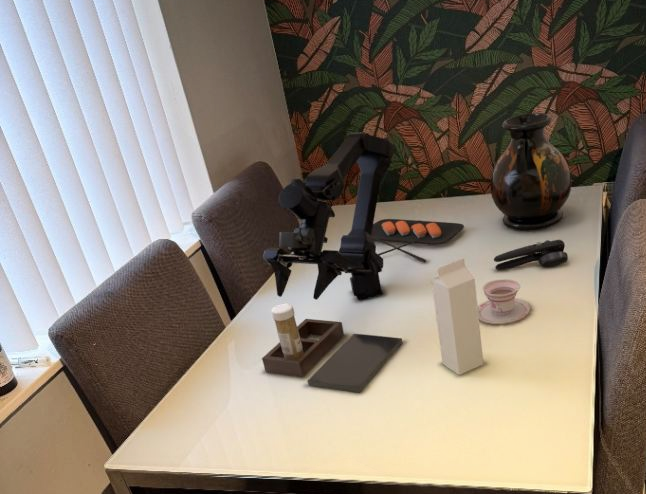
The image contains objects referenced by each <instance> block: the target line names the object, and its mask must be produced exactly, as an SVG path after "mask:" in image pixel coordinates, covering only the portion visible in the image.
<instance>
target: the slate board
mask: <svg viewBox="0 0 646 494" xmlns="http://www.w3.org/2000/svg"><path fill="white" fill-rule="evenodd" d="M403 343H404V342H403V338H402V337H393V336H384V335H383V336H382V335H372V334H362V333H352V335H351V336H350V337H349V338H348V339H347V340H346V341H345V342H344V343H343V344H342V345H341V346H340V347H339V348H338V349H337V350H336V351H335V352H334V353H333V354H332V355H331V356H330V357H329V358H328V359H327V360H326V361H325V362H324V363H323V364H322V365H321V367H319V368H318V369H317V370H316V372H315V373H313V374H312V376H310V378H308V380H307V384H308V386H310V387H316V388H323V389H324V388H325V389H331V390H340V391H346V392H353V393H361V392H362V391H363V389H364V388H365V387H366V386H367V384H369V382H370V381H371V380H372V379H373V378H374V377H375V376H376V374H377V373H378V372H379V371H380V370H381V369H382V368H383V366H385V364H386V363H387V362H388V361H389V360H390V358H392V356H393V355H394V354H395V352H396V351H397V350H398V349H399V348H400V347H401V346H402V345H403Z"/></svg>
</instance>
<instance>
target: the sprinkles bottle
mask: <svg viewBox="0 0 646 494" xmlns="http://www.w3.org/2000/svg"><path fill="white" fill-rule="evenodd" d="M271 315H272V319H273V321H274V324H275V327H276V333H277V336H278V340H279V342H280V344H281V347H282V351H283V353H284V357H285V358H288V359H296V360H298V359H299V358H300V357H301V356H302V355H303V354H304V352H303V348H302V343H301V340H300V336H299V332H298V328H297V326H298V325H297V321H296V318H295V310H294V306H293V304H291V303H280V304H278V305H275V306H274V307H272V309H271Z"/></svg>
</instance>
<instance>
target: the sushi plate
mask: <svg viewBox="0 0 646 494" xmlns="http://www.w3.org/2000/svg"><path fill="white" fill-rule="evenodd" d="M464 229H465V225H464V224H463V223H458V222H447V221H430V220H415V219H399V218H384V219H380V220H378V221H376V222H373V228H372V238H373V241H378V242H380V243H382V244H385V245H387V246H388V247H391V248H390V249H387V250H385V251H382V252H380V253H377V254H378V255H379V256H382V255H385V254H387V253H390V252H393V251H399V252H402V253H404V254H405V255H408V256H410V257H412V258H414V259H416V260H418V261H420V262H423V263H427V260H426V259H425V258H423V257H420V256H418V255H416V254H414V253H412V252H409V251H406V250H404V249H402V248H403V247H406V246H409V245H412V244H417V245H430V246H431V245H432V246H437V245H443V244H446V243H448V242H450V241H451V240H452V239H454V238H455V237H456V236H457V235H459V234H460V232H462V230H464ZM389 242H391V243H392V242H395V243H404V244H402V245H399V246H395V245H393V244H391V243H389Z"/></svg>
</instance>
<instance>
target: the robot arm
mask: <svg viewBox="0 0 646 494" xmlns="http://www.w3.org/2000/svg"><path fill="white" fill-rule="evenodd" d="M394 154H395V149H394V145H393V143H392V142H391V141H390V139H389V138H387V137H378V136H375V135H371V134H369V132H366V131H362V132H349V133H347V134H346V135H345V138H344V140H343V142H342V143H341V145H340V146H339V147H337V150H335V152H334V154H332V156H331V157H330V158H329V160H328V161H327V162H326V163H325V164H324V165H322V166H320V167H317V168H315V169H313V170H312V171H311V172H310V173H309V174H307V175H306V177H305V179H304V181H303V180H302V179H301V178H292V179H291V181H290V183H289V184H287V185H286V186H285V187H284V188H283V189H282V190H281V192H280V193H279V197H278V201H279V205H280V206H281V207H282V208H283V209H284V210H286V211H287V212H288V213H289V214H291V215H292V216H293V217H294V218H296V219H298V220H300V224H299V227H295V228H294V230H293V232H292V231H291V232H289V231H280V232H279V233H278V235H279V237H278V240H279V241H278V247H267V248H266V249H265V250H264V252H263V256H262V259H263V261H265V262H267V264H268V265H269V266H271V268H272V270H273V274H274V278H275V287H276V296H277V297H279V298H282V296H283V294H284V292H285V290H286V287H287V286H288V285H287V284H288V282H289V279H290V276H291V274H292V270H291V267H292V266H293V264H305V265H317V271H318V273H317V277H316V282H315V286H314V290H313V297H312V298H313V299H314V300H318V299H319V298H320V297H321V296H322V294H323V293H324V292H325V291H326V289H327V288H328V287H329V286H330V285H331V283H332V282H333V281H334V280H335V279H336V278H337V277H339V276H342V274H343V273H344V274H351V276H350V277H349V282H350V286H351V291H352V293H353V294H352V295H353V297H356V299H357V301H364V300H367V299H371V298H375V297H379V296H383V295H384V291H383V289H382V285H381V279H380V275H379V274H380V273H381V272H383V268H384V258H383V257H382V255H380V256H379V255H378V254H379V253H377V252H376V251H377V246H376V243H375V240H373V238H372V228H373V224H374V223H375V217H376V216H375V215H376V211H377V204H378V199H379V193H380V192H379V191H380V186H381V181H382V176H384V174H385V173H386V172H387V171H388V169H389V168H390V167H391V163H392V159H393V156H394ZM356 163H357V165H358V168H359V171H360V176H359V183H358V189H357V194H356V200H355V205H354V206H355V207H354V213H353V218H352V224H351V230H350V232H349V233H347V234H343V235H342V236H341V238H340V246H339V249H338V250H333V249H332V250H331V249H323V246H324V244H328V241H329V239H328V238H329V237H326V234H327V229H328V226H329V220H330V218H335V217H336V214H335V213H336V212H335V211H334V210H333V208H332V204H326V203H325V202H323V201H327V202H328V201H329V202H331V201H332V202H333V201H334V202H335V201H337V200H338V199H339V198H340V195H341V194H342V192H343V190H344V188H345V184H344V183H345V182H344V180H345V178H346V176H347V175H348V174H349V172H350V171H351V170H352V168H353V167H354V165H356ZM283 248H287V250H288V251H289V252H293V253H289V252H287V251H286V250H284V249H283Z"/></svg>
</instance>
